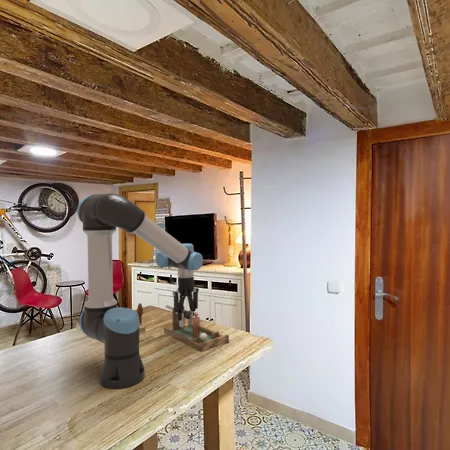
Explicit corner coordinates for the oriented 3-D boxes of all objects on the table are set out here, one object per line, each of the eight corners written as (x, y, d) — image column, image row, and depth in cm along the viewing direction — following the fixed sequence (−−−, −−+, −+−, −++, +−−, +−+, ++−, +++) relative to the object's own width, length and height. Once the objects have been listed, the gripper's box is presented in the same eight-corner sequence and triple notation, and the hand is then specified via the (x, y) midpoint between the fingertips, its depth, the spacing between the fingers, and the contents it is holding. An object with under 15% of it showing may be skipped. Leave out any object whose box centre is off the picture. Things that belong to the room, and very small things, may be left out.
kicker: (194, 338, 150) (194, 313, 150) (164, 323, 171) (163, 301, 170) (200, 336, 152) (200, 312, 152) (169, 322, 173) (169, 300, 173)
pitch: (201, 354, 136) (200, 325, 136) (164, 334, 159) (163, 309, 159) (228, 345, 146) (228, 318, 146) (190, 327, 169) (190, 304, 169)
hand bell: (151, 334, 159) (151, 301, 159) (145, 341, 151) (145, 306, 151) (134, 334, 160) (134, 301, 160) (127, 340, 152) (127, 305, 152)
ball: (202, 343, 145) (202, 335, 145) (197, 340, 148) (197, 333, 148) (209, 341, 148) (209, 333, 147) (204, 339, 150) (204, 331, 150)
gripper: (173, 280, 149) (174, 331, 150) (205, 275, 160) (205, 323, 161) (165, 277, 155) (165, 327, 155) (196, 273, 166) (196, 319, 167)
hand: (186, 325), depth 158 cm, fingers open, 4 cm apart
